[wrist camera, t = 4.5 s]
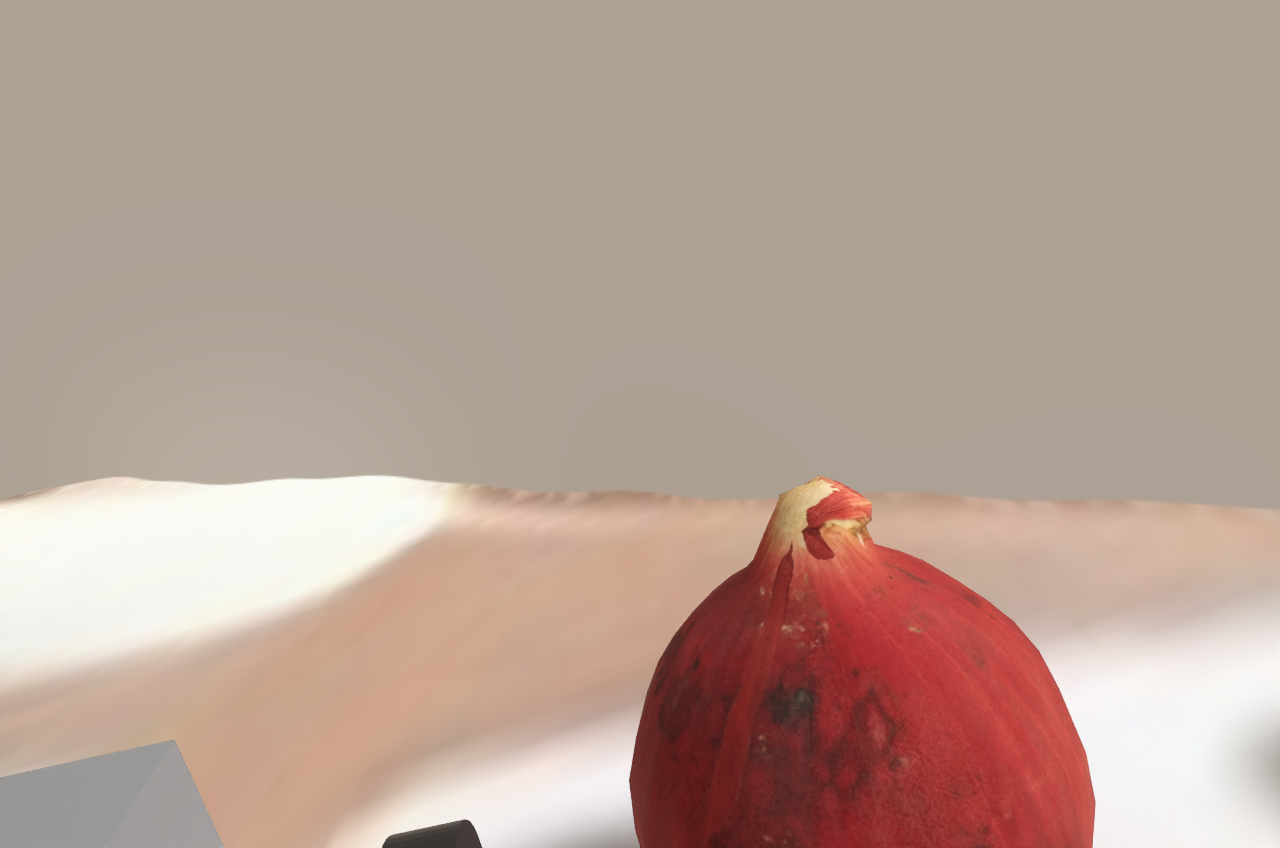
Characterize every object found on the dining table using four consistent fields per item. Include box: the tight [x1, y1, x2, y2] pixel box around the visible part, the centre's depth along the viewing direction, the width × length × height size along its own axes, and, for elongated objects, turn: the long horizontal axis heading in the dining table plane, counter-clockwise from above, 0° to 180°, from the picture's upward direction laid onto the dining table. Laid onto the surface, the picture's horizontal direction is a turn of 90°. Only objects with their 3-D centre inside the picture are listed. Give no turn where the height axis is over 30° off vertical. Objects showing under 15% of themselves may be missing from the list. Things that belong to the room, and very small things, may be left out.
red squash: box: [629, 476, 1095, 848], centre depth 12 cm, size 6×6×8 cm
